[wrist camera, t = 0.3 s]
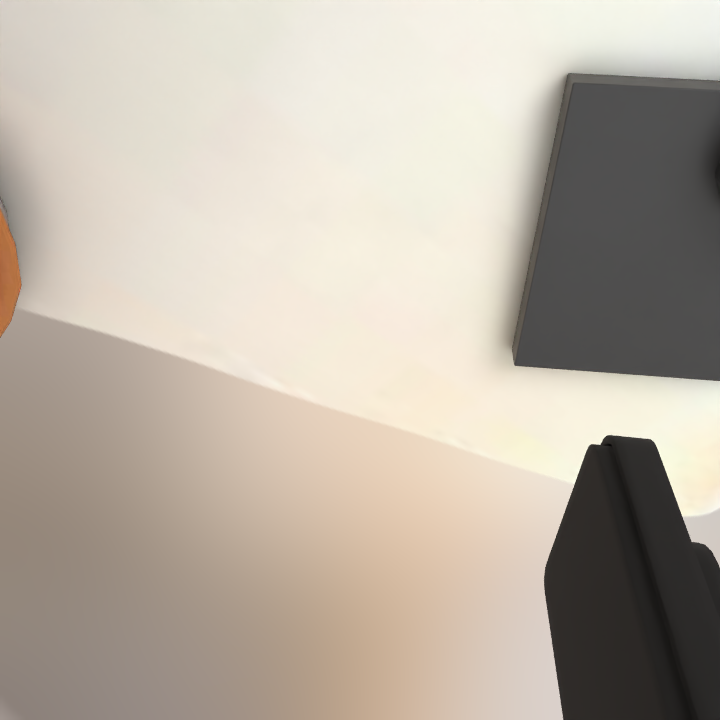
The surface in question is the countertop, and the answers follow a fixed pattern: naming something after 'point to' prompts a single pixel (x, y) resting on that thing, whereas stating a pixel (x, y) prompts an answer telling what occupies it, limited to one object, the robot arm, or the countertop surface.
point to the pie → (7, 272)
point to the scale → (628, 233)
